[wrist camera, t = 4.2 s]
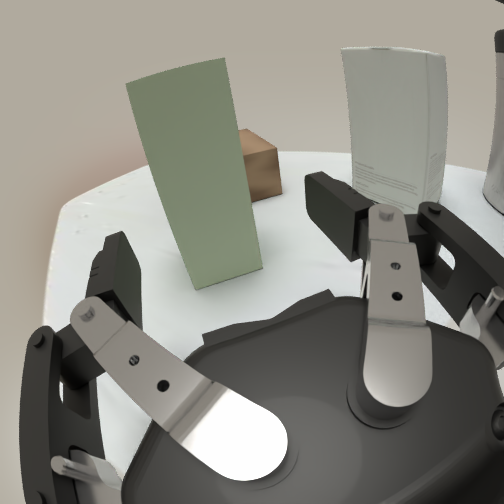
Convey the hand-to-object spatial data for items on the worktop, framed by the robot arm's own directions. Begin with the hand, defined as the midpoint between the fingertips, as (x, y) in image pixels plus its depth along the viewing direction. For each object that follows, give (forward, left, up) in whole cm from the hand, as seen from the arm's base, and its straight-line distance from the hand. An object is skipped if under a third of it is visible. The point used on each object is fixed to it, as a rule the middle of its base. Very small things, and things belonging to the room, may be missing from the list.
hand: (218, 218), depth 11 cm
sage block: (0, -7, -8) cm, 10 cm away
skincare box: (-18, -8, -8) cm, 21 cm away
